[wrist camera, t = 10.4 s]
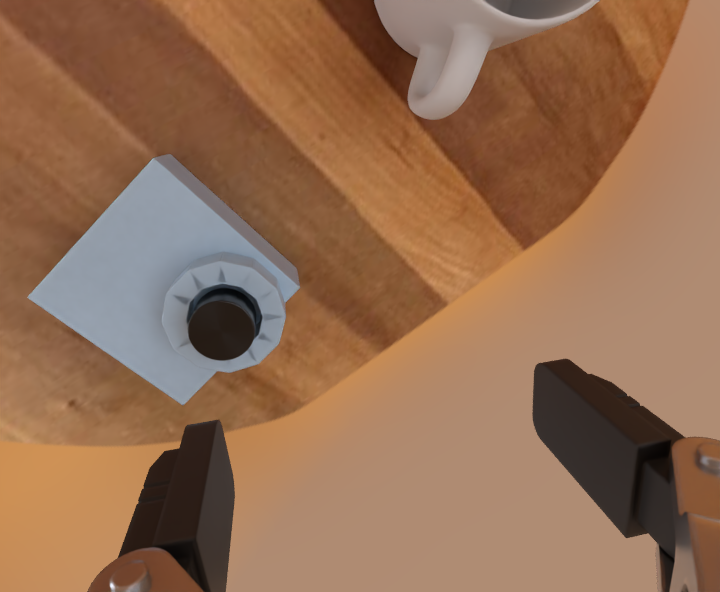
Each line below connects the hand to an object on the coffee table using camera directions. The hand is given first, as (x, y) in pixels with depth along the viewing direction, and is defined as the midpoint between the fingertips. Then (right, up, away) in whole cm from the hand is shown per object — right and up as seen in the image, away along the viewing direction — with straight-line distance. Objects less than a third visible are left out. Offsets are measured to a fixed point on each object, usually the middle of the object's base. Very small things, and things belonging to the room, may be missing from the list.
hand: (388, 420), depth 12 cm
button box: (-12, +5, +18) cm, 22 cm away
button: (-8, +2, +13) cm, 16 cm away
